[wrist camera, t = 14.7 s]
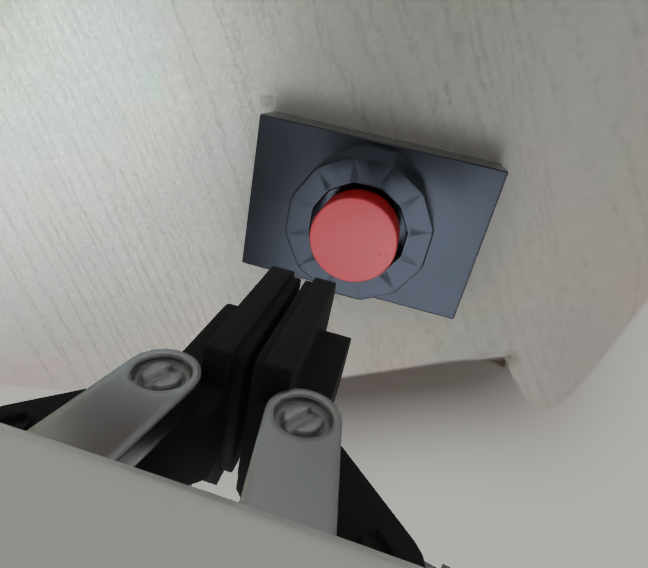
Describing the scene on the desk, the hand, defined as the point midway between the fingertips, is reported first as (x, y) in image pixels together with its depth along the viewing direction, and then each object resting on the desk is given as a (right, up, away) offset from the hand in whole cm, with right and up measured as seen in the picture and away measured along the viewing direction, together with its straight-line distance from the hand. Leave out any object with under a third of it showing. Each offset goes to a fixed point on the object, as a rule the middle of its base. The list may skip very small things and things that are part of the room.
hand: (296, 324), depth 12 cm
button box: (+3, +5, +13) cm, 15 cm away
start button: (+2, +4, +10) cm, 11 cm away
